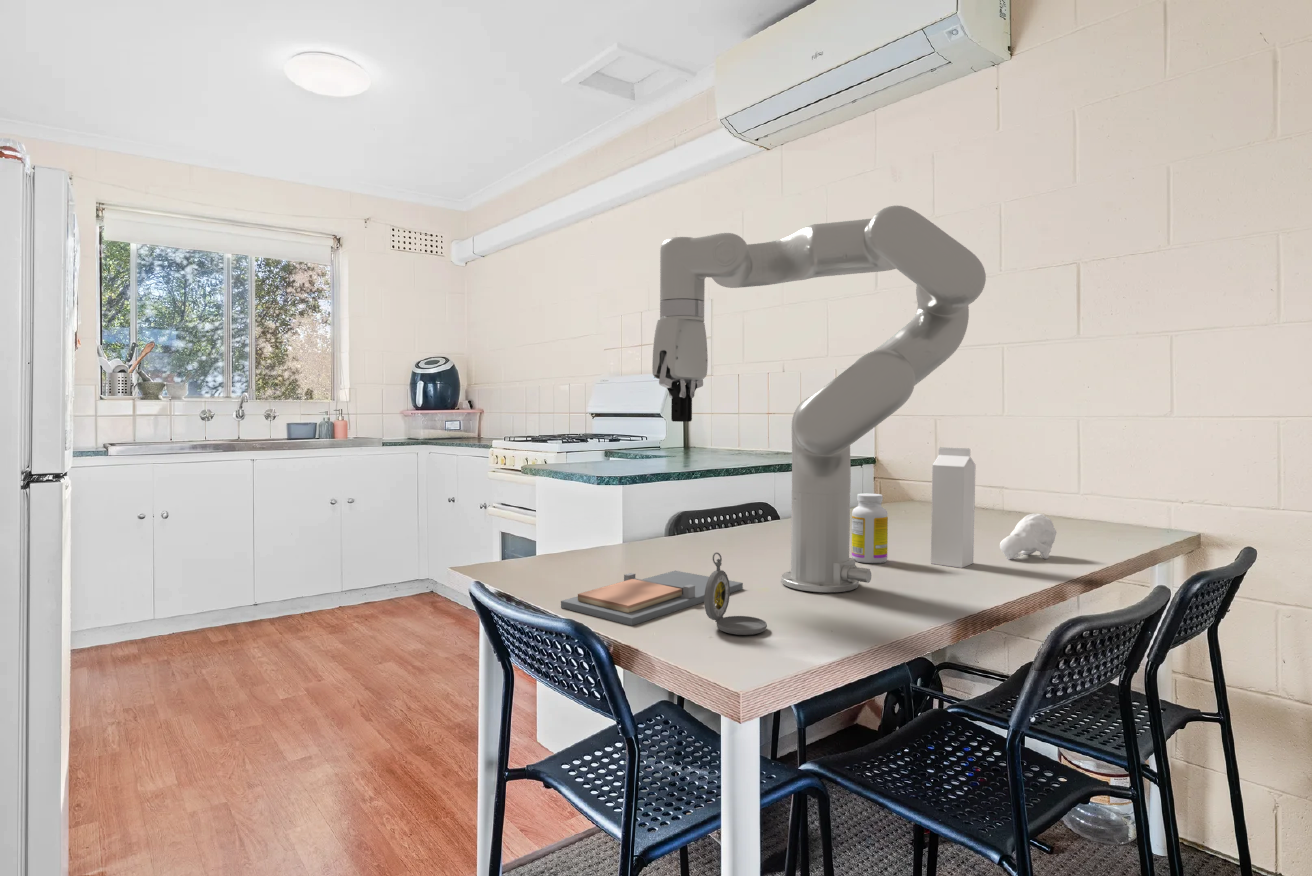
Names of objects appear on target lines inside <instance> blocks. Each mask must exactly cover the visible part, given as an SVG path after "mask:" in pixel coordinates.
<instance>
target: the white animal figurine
mask: <svg viewBox="0 0 1312 876" xmlns="http://www.w3.org/2000/svg"><path fill="white" fill-rule="evenodd" d="M1057 534H1058V533H1057V529H1056V528H1055V526H1054V523H1053V521H1052V519H1051V518H1049V517H1048V516H1046V515H1044V514H1043V513H1030V514H1027V515H1025V516H1024V517H1023V518H1021V519H1020V521H1018V522H1017V524H1016V525H1015V527H1014V529H1013V530H1012V531H1011V532H1010V535H1007V536H1006V537H1004V538H1003V539H1002V540H1001V541H1000V543H999V550H1000V551H1001V552H1002V553H1003V555H1004V557H1005V558H1006V560H1008V561H1009V560H1013V559H1015V560H1020V558H1021V557H1022V556H1026V555H1028V556H1029V555H1032V554H1034V553H1036V552H1039V554H1040V556H1041V558H1043V559H1044V560H1048V559H1049V558H1050V553H1051V552H1052V547H1053V545H1054V543H1055V541H1056V536H1057ZM1019 557H1020V558H1019Z"/></svg>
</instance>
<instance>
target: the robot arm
mask: <svg viewBox="0 0 1312 876" xmlns="http://www.w3.org/2000/svg"><path fill="white" fill-rule="evenodd" d="M659 249H660V250H659V251H660V252H659V256H660V257H659V258H660V259H659V263H660V264H659V265H660V266H659V268H660V269H659V277H660V278H659V279H660V280H659V282H660V283H659V291H660V292H659V319H657V321H656V326H655V331H654V337H653V348H652V363H651V364H652V366H651V368H652V369H651V370H652V376H653V377H654V378H655V379H658V380H659V381H658V384H659V386H661V387H664V388H666V389H667V391H668V396H669V398H670V399H671V402H670V403H671V405H670V406H671V407H670V409H671V414H670V415H671V421H672V422H681V423H682V422H683V423H687V422H692V421H693V398H694V397H695V393H696V390H697V389H699V388H701V387H703V386H704V379H705V378H706V377H707V375H708V366H709V363H708V362H709V359H708V358H709V357H708V341H707V332H706V324H705V290H706V289H705V287H706V286H705V284H706V283H705V281H706V280H705V279H706V278H712V280H713V281H714V283H716V284H717V285H719V286H721V287H722V288H723V287H724V288H730V289H738V288H750V287H751V288H752V287H761V286H762V287H763V286H770V285H778V284H784V283H789V282H797V281H805V280H809V279H814V278H822V277H833V276H834V277H836V276H843V275H844V276H845V275H855V274H868V273H879V272H880V273H881V272H886V271H887V272H888V271H892V270H897V271H899V272H900V273H901V274H902V275H904V276H905V277H906V278H908V279H909V280H910V281H911V282H913V283H914V284H915V285H916V286H915V287H916V288H915V296H916V302H917V303H916V304H917V307H916V311H915V314H914V316H913V318H912V319H911V320H910V321H909V322H908V323H907V324H905V325H904V326H903V327H902V328H901V329H899V330H898V331H897V332H896V333H895V334H894V335H893V336H891V337H890V338H889V339H887V340H886V341H885V342H883V343H882V344H881V345H880V346H877V348H875V349H874V350H873V351H870V352H868V353H866V354H863V355H862V356H861V357H860V358H858V359H857V360H856V361H855V362H854V363H853V364H852V365H851V366H849V367H848V368H847V369H845V370H844V371H842V372H841V374H838V375H837V376H836V377H835V378H833V379H832V380H830V382H828V383H827V384H826V385H824V386H823V387H822V388H821V389H819V390H818V391H816V392H815V393H814V394H813V395H811V396H809V397H806V398H805V399H804V400H802V401H801V402H800V403H799V404H798V405H797V406H796V408H795V410H794V412H793V415H792V418H791V419H792V420H791V505H790V506H791V516H790V517H791V519H790V520H791V521H790V525H791V526H790V530H791V531H790V570H788V571H786V572H783V573H782V574H781V576H780V578H781V583H782V584H783V585H784V586H786V587H788V588H791V589H795V590H799V591H802V592H803V591H804V592H811V593H812V592H813V593H843V592H851V591H853V590H855V589H857V588H859V582H863V583H867V584H868V583H870V582H871V580H872V572H871V569H870V568H864V567H858V566H857V565H856V561H855V559H854V558H852V557H850V534H851V533H850V530H851V529H850V527H851V525H850V524H851V519H850V518H851V488H852V487H851V481H852V480H851V477H852V476H851V470H852V469H851V467H852V466H851V445H853V444H854V443H855V442H857V441H858V440H859V439H861V438H862V437H863V436H865V435H866V434H867V433H869V432H870V431H871V430H873V429H874V428H876V427H877V426H878V425H879V424H881V423H882V422H884V421H885V420H886V419H887V418H889V417H890V416H892V415H893V414H894V413H896V412H897V411H898V410H899V409H900V408H902V406H904V405H905V403H906V402H907V401H908V400H909V399H910V397H911V396H912V393H913V391H914V388H915V386H916V385H917V384H919V383H920V382H922V381H923V380H924V379H926V378H927V377H928V376H929V375H930V374H931V373H933V372H934V371H935V370H936V369H937V368H939V367H940V366H941V365H942V364H944V363H945V362H946V361H947V360H948V359H950V357H951V356H953V355H954V353H955V352H956V351H957V350H958V348H960V346H961V344H962V342H963V340H964V338H965V336H966V332H967V329H968V324H969V318H970V315H969V314H970V310H969V308H970V307H969V305H971V304H972V303H973V302H975V301H976V300H977V299H978V298H979V296H980V295H981V294H982V293H983V290H984V288H985V287H986V286H985V284H986V281H987V279H986V278H987V276H986V275H987V274H986V270H985V267H984V265H983V263H982V261H981V260H980V259H979V257H977V255H976V254H974V253H973V252H972V251H971V250H970V249H968V248H967V247H966V246H965V245H963V243H960V241H958V240H957V239H955V238H953V237H952V236H950V235H949V234H948V233H946V232H945V231H944V230H942V228H940V227H939V226H938V225H936V224H934V222H932V221H930V220H929V219H928V218H926V217H925V216H923V215H922V214H920V213H919V212H917V211H916V210H914V209H912V208H910V207H909V206H908V207H907V206H903V205H890V206H887V207H884V208H882V209H881V210H879V211H878V212H877V213H876V214H875V215H873V217H872V218H864V219H856V220H855V219H854V220H845V221H844V220H843V221H836V222H835V221H834V222H825V223H814V224H810V225H808V226H805V227H802V228H801V229H799V230H797V231H796V232H794V233H792V234H790V235H789V236H788V235H787V236H786V237H783V238H780V239H776V240H772V241H768V242H767V241H766V242H760V243H759V242H758V243H750V244H749V243H748V244H747V242H746V241H745V240H744V239H743V237H741V236H740V235H738V234H735V233H732V232H723V233H722V232H720V233H716V234H711V235H710V234H709V235H705V236H699V237H691V236H676V237H670V238H667V239H665V240H664V241H663V242H662V243H661V245H660V248H659Z"/></svg>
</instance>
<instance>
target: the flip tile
mask: <svg viewBox="0 0 1312 876" xmlns="http://www.w3.org/2000/svg"><path fill="white" fill-rule="evenodd" d="M682 595H683V588H681V587H676V586H671V585H666V584H661V583H656V582H651V581H646V580H641V578H636V577H635V578H634V579H630V580H626V581H624V580H623V581H619V582H616V583H612V584H609V585H606V586H602V587H597V588H595V589H591V590H588V591H584V592H580V593H577V596H578V601H581V602H585V603H589V604H593V605H598V606H602V607H606V608H610V609H614V610H618V611H622V612H627V613H630V612H633V611H636V610H639V609H642V608H645V607H648V606H651V605H654V604H657V603H660V602H663V601H666V600H669V599H673V598H676V597H679V596H682Z"/></svg>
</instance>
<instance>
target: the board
mask: <svg viewBox="0 0 1312 876" xmlns="http://www.w3.org/2000/svg"><path fill="white" fill-rule="evenodd" d="M709 577H710V576H707V575H703V574H702V575H701V574H697V573H692V572H685V571H681V570H673V571H668V572H665V573H662V574H657V575H654V576H649V577H646V578H642V579H641V578H640V579H641V580H646V581H651V582H656V583H661V584H666V585H671V586H676V587H681V588H683V595H682V596H679V597H676V598H673V599H669V600H666V601H663V602H660V603H657V604H654V605H651V606H648V607H645V608H642V609H639V610H636V611H633V612H630V613H627V612H622V611H618V610H614V609H610V608H606V607H602V606H598V605H593V604H589V603H585V602H581V601H578V595H576V596H574V597H570V598H566V599H563V600H562V599H561V600H560V608H561V609H565V610H568V611H574V612H575V613H576V612H577V613H582V614H586V615H589V616H592V617H597V618H600V619H603V620H608V621H612V622H616V623H620V624H624V625H628V626H631V627H633V626H635V625H638V624H641V623H644V622H647V621H650V620H653V619H656V618H660V617H663V616H665V615H668V614H670V613H674V612H677V611H680V610H684V609H686V608H690V607H693V606H696V605H698V604H701V603H704V595H705V588H706V584H707V581H708V579H709ZM634 578H636V573H633V572H629V573H624V574H623V581H626V580H630V579H634ZM728 580H729V579H728ZM743 584H744V583H743V582H740V581H735V580H729V585H730V594H731V593H734V592H737V591H741V590H743V588H744V587H743V586H744V585H743ZM716 598H717V599H718V597H716Z"/></svg>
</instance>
